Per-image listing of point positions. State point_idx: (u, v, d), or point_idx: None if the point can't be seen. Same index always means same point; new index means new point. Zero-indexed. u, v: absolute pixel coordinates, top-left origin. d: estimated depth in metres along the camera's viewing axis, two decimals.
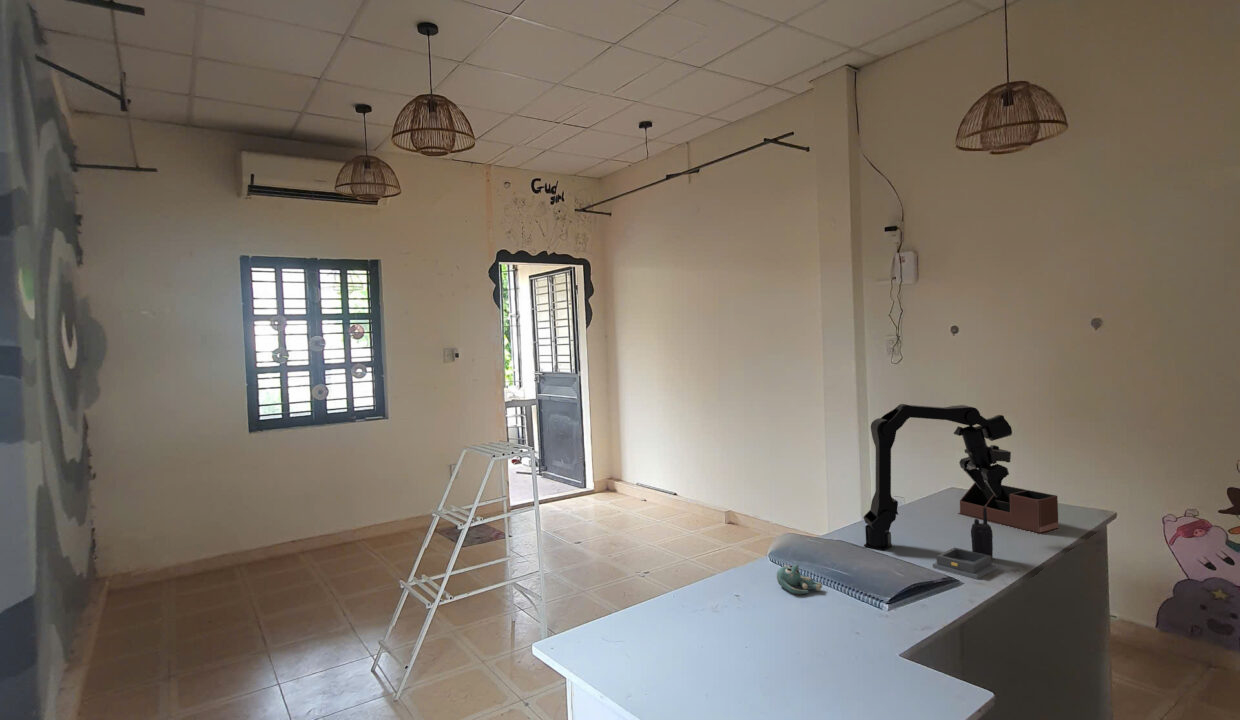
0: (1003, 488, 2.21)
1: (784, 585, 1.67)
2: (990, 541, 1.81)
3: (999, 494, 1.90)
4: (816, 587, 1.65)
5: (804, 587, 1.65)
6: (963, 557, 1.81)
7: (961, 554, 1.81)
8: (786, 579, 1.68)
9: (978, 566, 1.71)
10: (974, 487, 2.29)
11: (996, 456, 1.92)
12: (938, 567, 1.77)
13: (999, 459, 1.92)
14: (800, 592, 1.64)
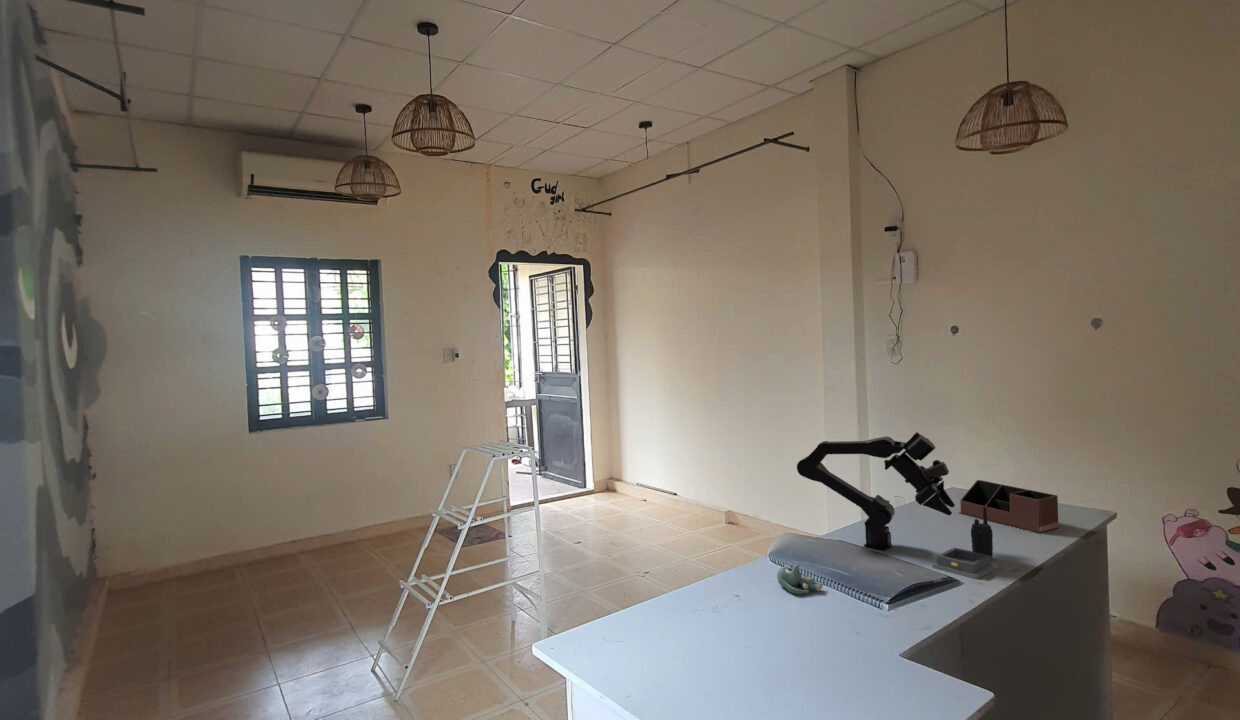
0: (1004, 488, 2.21)
1: (784, 585, 1.67)
2: (990, 541, 1.81)
3: (948, 511, 1.82)
4: (816, 587, 1.65)
5: (805, 587, 1.65)
6: (963, 557, 1.81)
7: (961, 554, 1.81)
8: (786, 579, 1.68)
9: (978, 566, 1.71)
10: (975, 487, 2.30)
11: (929, 475, 1.87)
12: (938, 567, 1.77)
13: (934, 476, 1.86)
14: (800, 592, 1.64)
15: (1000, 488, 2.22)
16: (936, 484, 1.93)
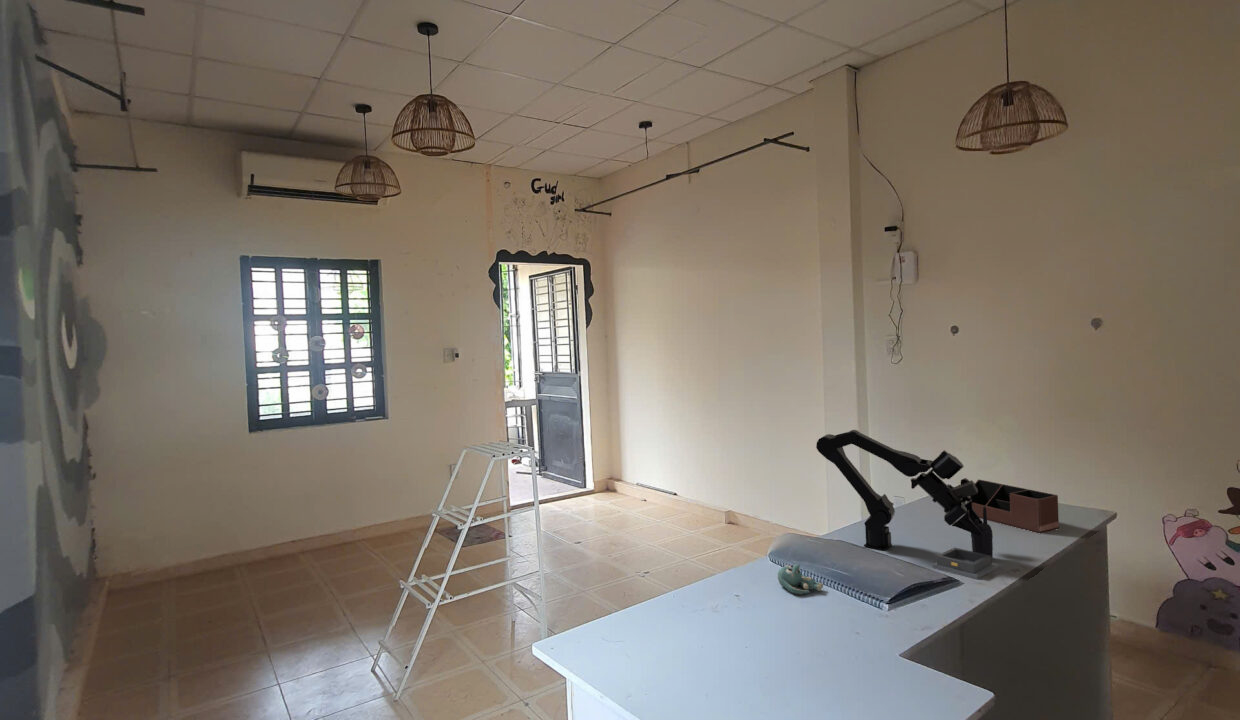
0: (1004, 487, 2.22)
1: (785, 585, 1.67)
2: (990, 541, 1.81)
3: (978, 532, 1.79)
4: (817, 587, 1.65)
5: (805, 587, 1.65)
6: (963, 557, 1.81)
7: (961, 554, 1.81)
8: (787, 579, 1.68)
9: (978, 566, 1.71)
10: (976, 486, 2.30)
11: (958, 494, 1.83)
12: (938, 567, 1.77)
13: (963, 495, 1.83)
14: (801, 592, 1.64)
15: (1001, 488, 2.22)
16: (964, 503, 1.90)
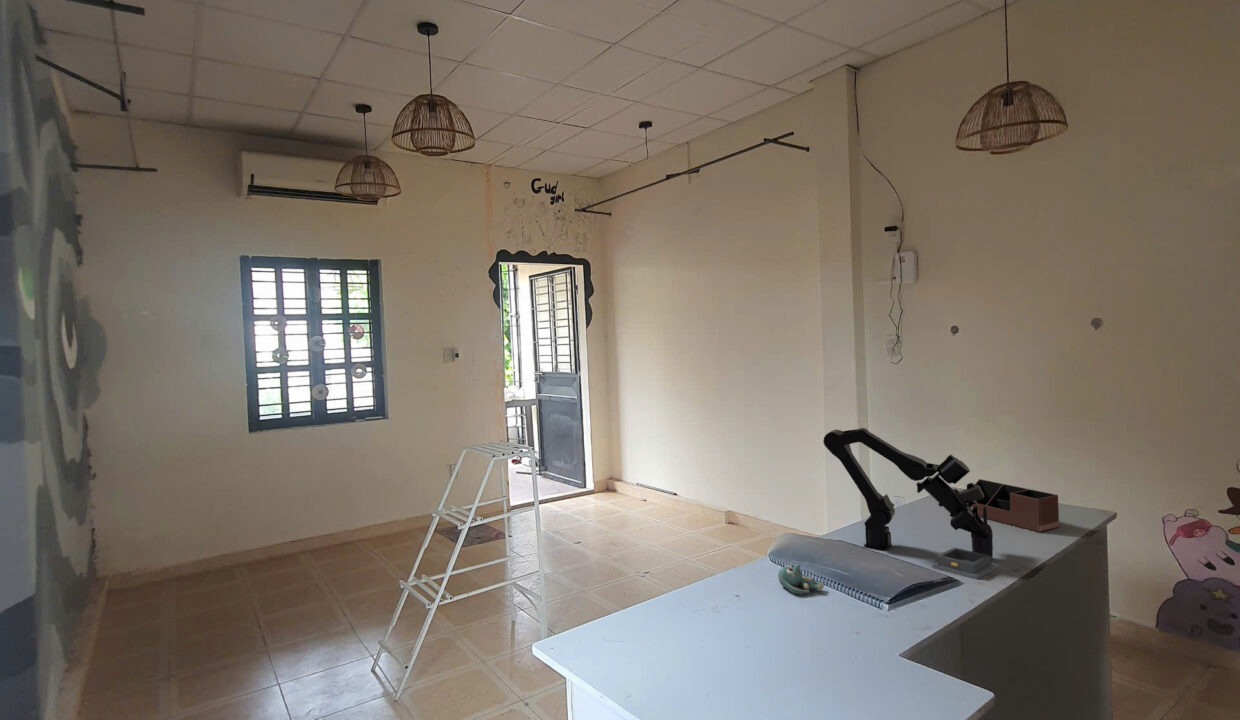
0: (1005, 487, 2.22)
1: (785, 585, 1.67)
2: (990, 541, 1.81)
3: (985, 535, 1.80)
4: (817, 587, 1.65)
5: (806, 587, 1.65)
6: (963, 557, 1.81)
7: (961, 554, 1.81)
8: (787, 579, 1.68)
9: (978, 566, 1.71)
10: None
11: (964, 498, 1.82)
12: (938, 567, 1.77)
13: (969, 500, 1.82)
14: (801, 592, 1.64)
15: (1001, 487, 2.22)
16: (969, 509, 1.87)
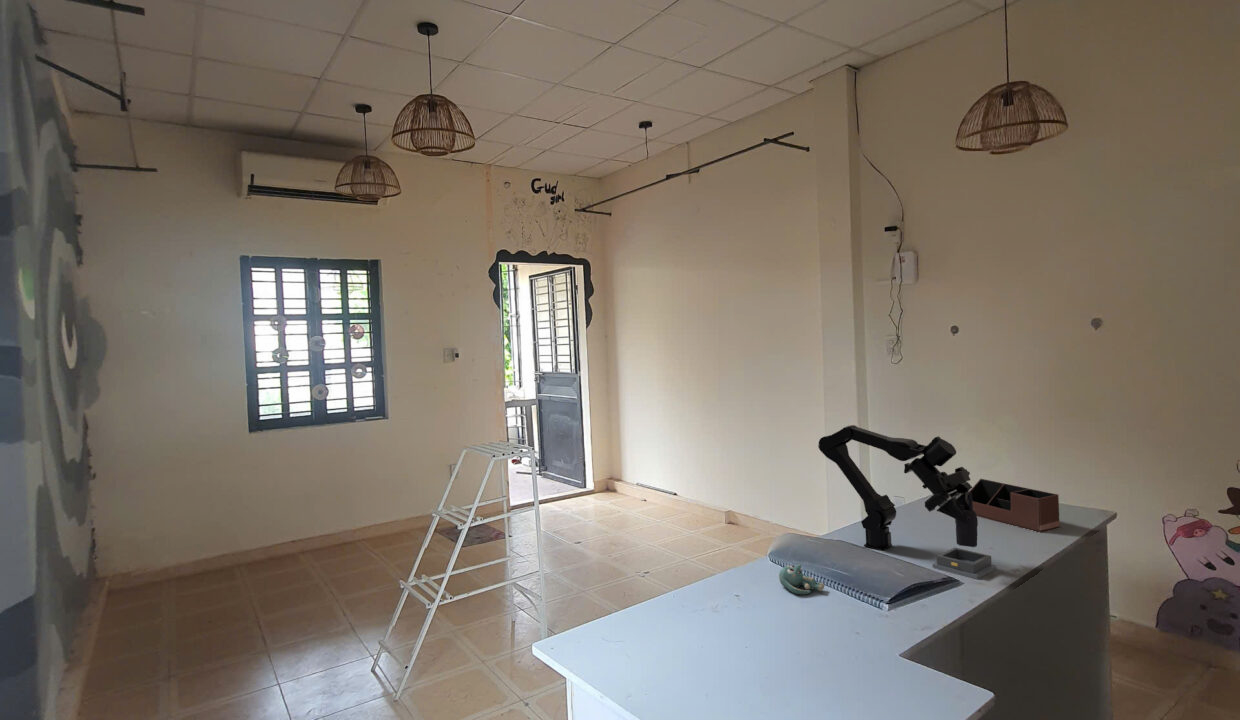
0: (1006, 487, 2.23)
1: (786, 585, 1.67)
2: (972, 527, 1.75)
3: (964, 520, 1.75)
4: (818, 587, 1.65)
5: (807, 587, 1.65)
6: (963, 557, 1.81)
7: (961, 554, 1.81)
8: (788, 579, 1.67)
9: (978, 566, 1.71)
10: (978, 485, 2.31)
11: (946, 481, 1.78)
12: (938, 567, 1.77)
13: (951, 483, 1.77)
14: (802, 592, 1.64)
15: (1002, 487, 2.23)
16: (958, 494, 1.82)
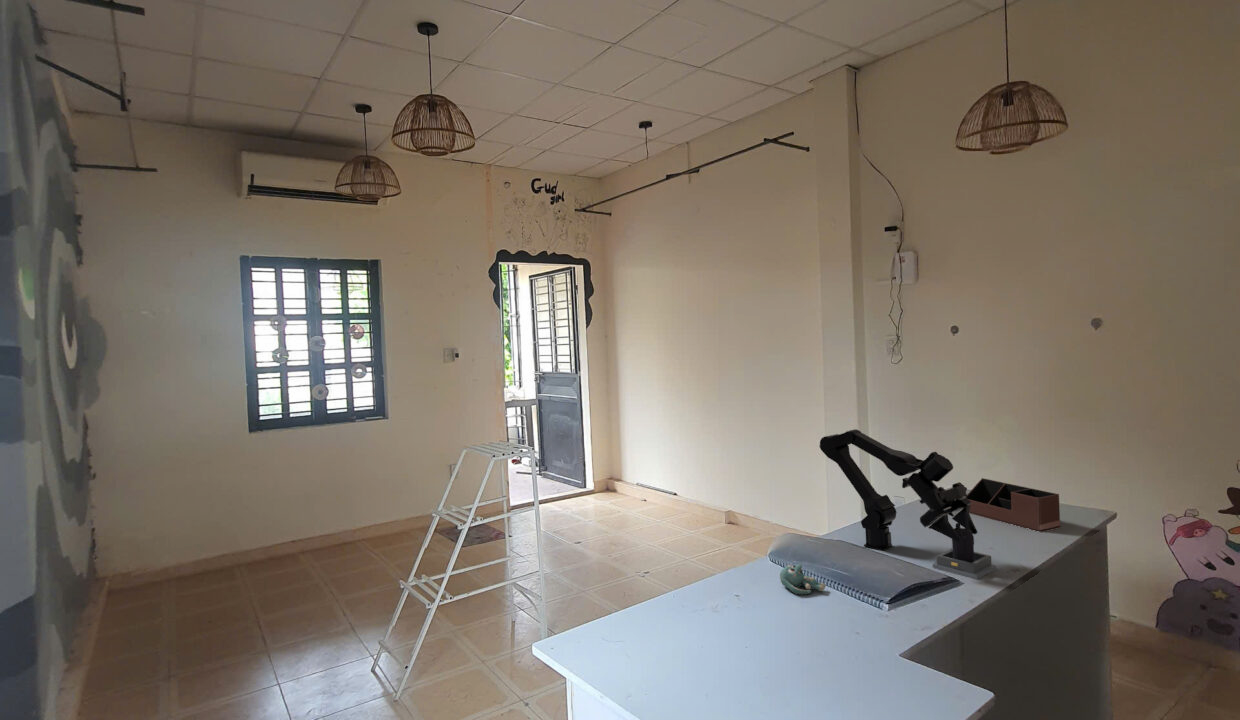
0: (1007, 486, 2.23)
1: (787, 585, 1.67)
2: (968, 547, 1.74)
3: (957, 537, 1.73)
4: (819, 587, 1.65)
5: (807, 587, 1.65)
6: None
7: None
8: (789, 579, 1.67)
9: (978, 566, 1.71)
10: (979, 485, 2.32)
11: (942, 497, 1.78)
12: (938, 567, 1.77)
13: (947, 499, 1.77)
14: (803, 592, 1.64)
15: (1003, 486, 2.24)
16: (960, 508, 1.82)
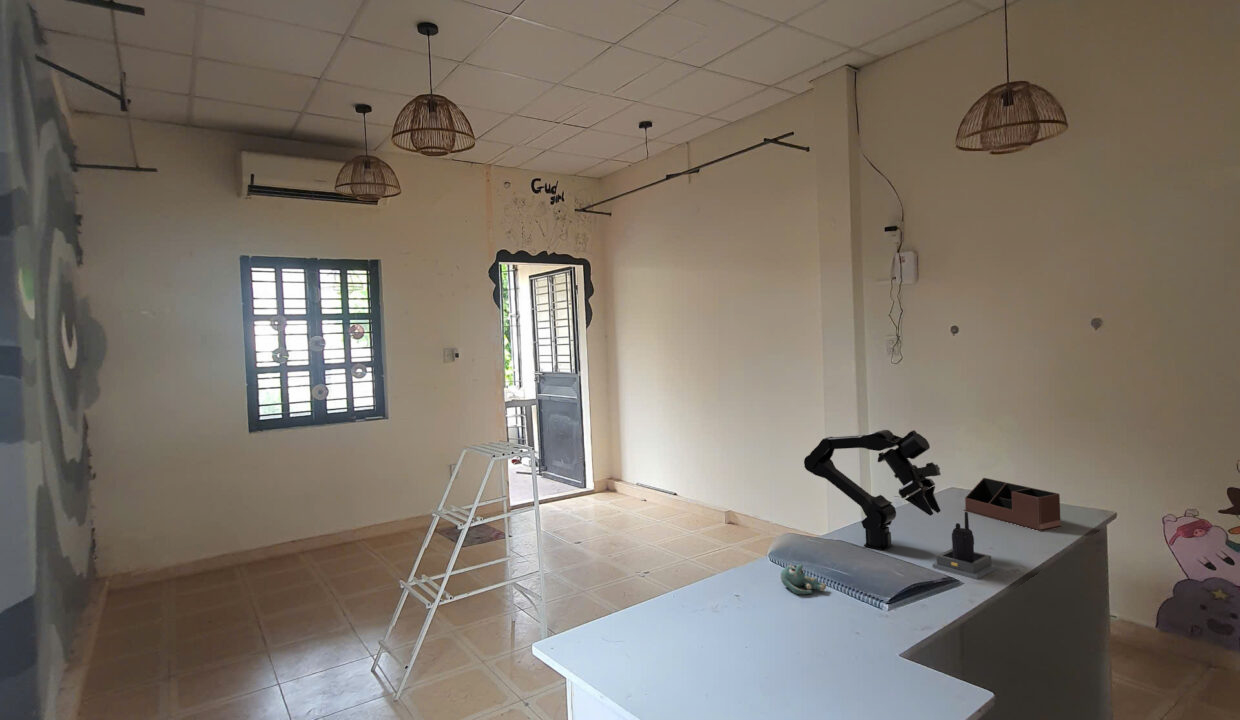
0: (1008, 486, 2.24)
1: (788, 585, 1.67)
2: (968, 547, 1.74)
3: (930, 511, 1.80)
4: (820, 587, 1.65)
5: (808, 588, 1.65)
6: None
7: None
8: (790, 579, 1.67)
9: (978, 566, 1.71)
10: (981, 484, 2.32)
11: (919, 473, 1.85)
12: (938, 567, 1.77)
13: (924, 475, 1.85)
14: (804, 592, 1.64)
15: (1005, 486, 2.24)
16: (926, 487, 1.91)
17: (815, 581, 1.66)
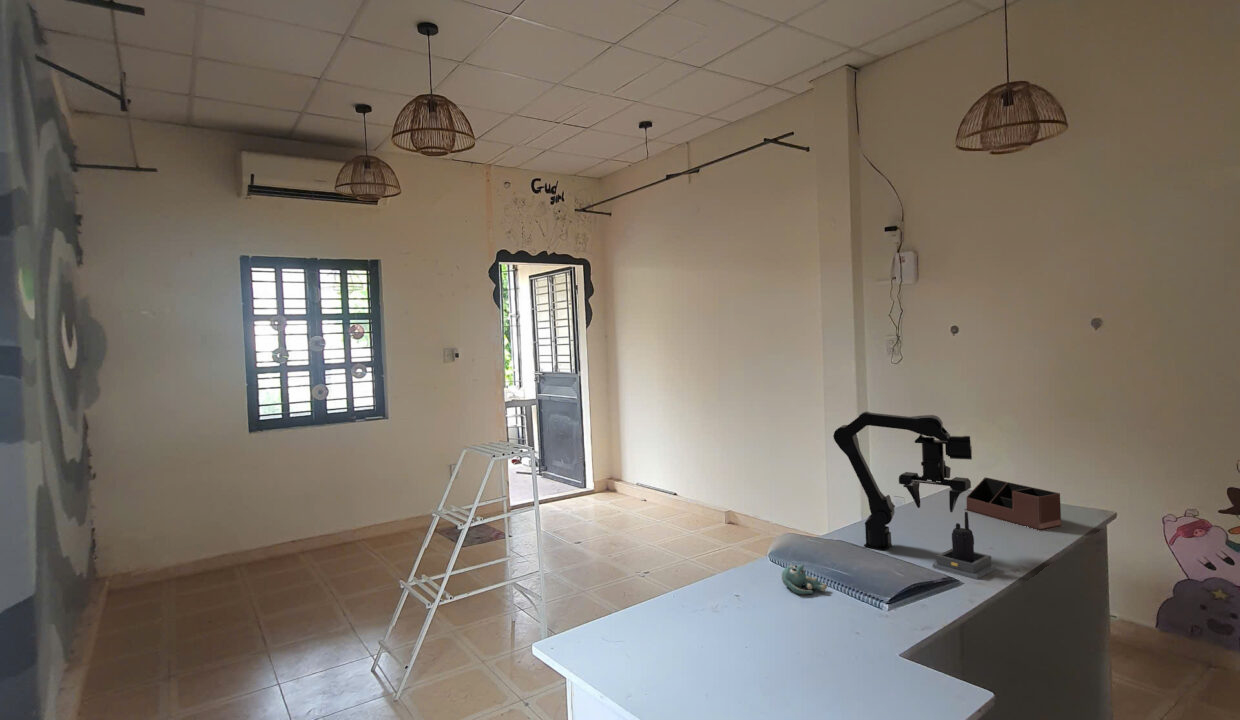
0: (1009, 485, 2.24)
1: (789, 585, 1.67)
2: (968, 547, 1.74)
3: (953, 509, 1.86)
4: (821, 588, 1.65)
5: (809, 588, 1.65)
6: None
7: None
8: (791, 579, 1.67)
9: (978, 566, 1.71)
10: (982, 484, 2.33)
11: (947, 470, 1.90)
12: (938, 567, 1.77)
13: (947, 474, 1.91)
14: (804, 592, 1.64)
15: (1006, 486, 2.25)
16: (916, 481, 1.94)
17: (816, 581, 1.66)
